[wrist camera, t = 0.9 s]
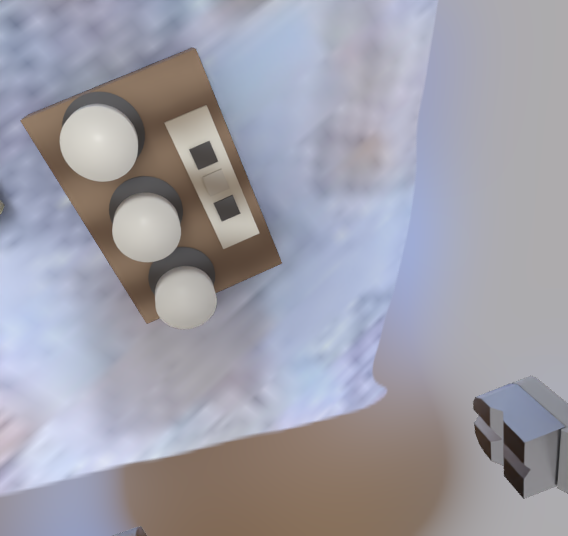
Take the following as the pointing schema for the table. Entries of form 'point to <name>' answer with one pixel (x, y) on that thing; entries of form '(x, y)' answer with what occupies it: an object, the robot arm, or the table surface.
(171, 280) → the outer button
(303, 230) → the table surface
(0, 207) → the flower vase
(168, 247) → the middle button
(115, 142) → the inner button
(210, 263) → the button board
